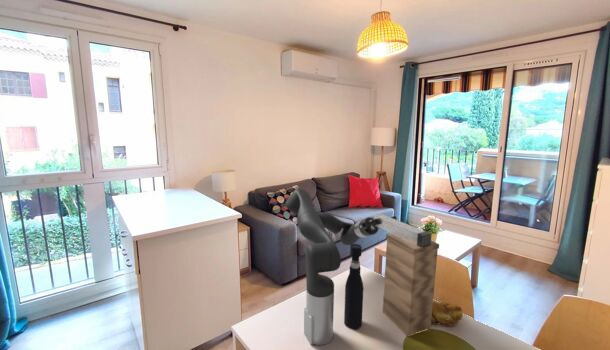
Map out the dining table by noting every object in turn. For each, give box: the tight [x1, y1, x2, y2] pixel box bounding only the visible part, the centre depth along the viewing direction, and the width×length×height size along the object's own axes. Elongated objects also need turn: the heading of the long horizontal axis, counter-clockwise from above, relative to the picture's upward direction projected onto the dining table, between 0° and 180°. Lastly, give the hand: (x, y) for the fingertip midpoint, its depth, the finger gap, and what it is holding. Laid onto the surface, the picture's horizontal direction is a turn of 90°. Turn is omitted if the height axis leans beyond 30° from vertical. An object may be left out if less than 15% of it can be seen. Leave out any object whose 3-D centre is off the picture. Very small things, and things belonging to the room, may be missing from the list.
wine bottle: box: [343, 243, 364, 330], centre depth 102 cm, size 6×6×30 cm
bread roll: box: [431, 299, 463, 327], centre depth 106 cm, size 13×10×8 cm
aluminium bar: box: [373, 213, 433, 247], centre depth 105 cm, size 4×24×4 cm, turn 27°
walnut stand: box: [382, 233, 440, 337], centre depth 103 cm, size 11×14×32 cm
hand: (387, 219), depth 112 cm, fingers open, 8 cm apart
